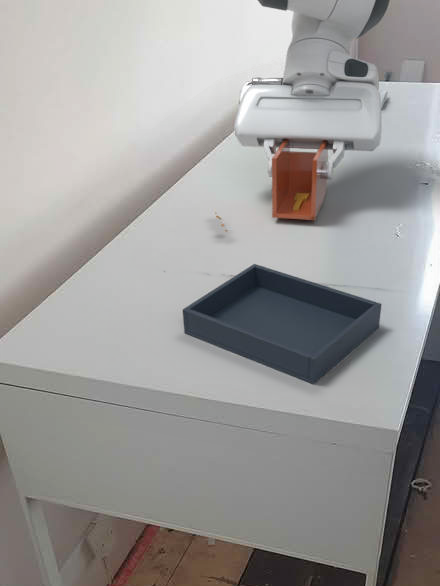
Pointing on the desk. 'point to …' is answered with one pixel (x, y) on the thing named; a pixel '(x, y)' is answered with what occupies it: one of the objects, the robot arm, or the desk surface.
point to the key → (300, 200)
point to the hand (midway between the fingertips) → (299, 176)
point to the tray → (283, 321)
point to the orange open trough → (298, 181)
